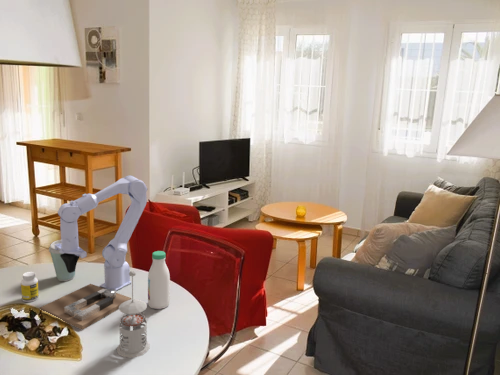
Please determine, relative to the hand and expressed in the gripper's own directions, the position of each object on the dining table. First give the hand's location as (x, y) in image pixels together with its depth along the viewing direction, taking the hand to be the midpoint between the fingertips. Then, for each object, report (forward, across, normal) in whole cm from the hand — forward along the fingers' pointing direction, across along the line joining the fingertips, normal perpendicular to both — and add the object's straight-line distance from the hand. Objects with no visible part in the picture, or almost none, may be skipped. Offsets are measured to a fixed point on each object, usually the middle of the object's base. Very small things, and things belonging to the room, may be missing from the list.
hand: (71, 271), depth 155 cm
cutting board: (+9, +11, -3) cm, 15 cm away
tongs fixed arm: (+8, +17, -5) cm, 20 cm away
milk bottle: (+10, +31, +12) cm, 35 cm away
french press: (+10, +41, -12) cm, 44 cm away
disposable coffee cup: (+10, -14, +8) cm, 19 cm away
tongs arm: (+8, +14, -3) cm, 16 cm away
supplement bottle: (+10, -10, -10) cm, 17 cm away
